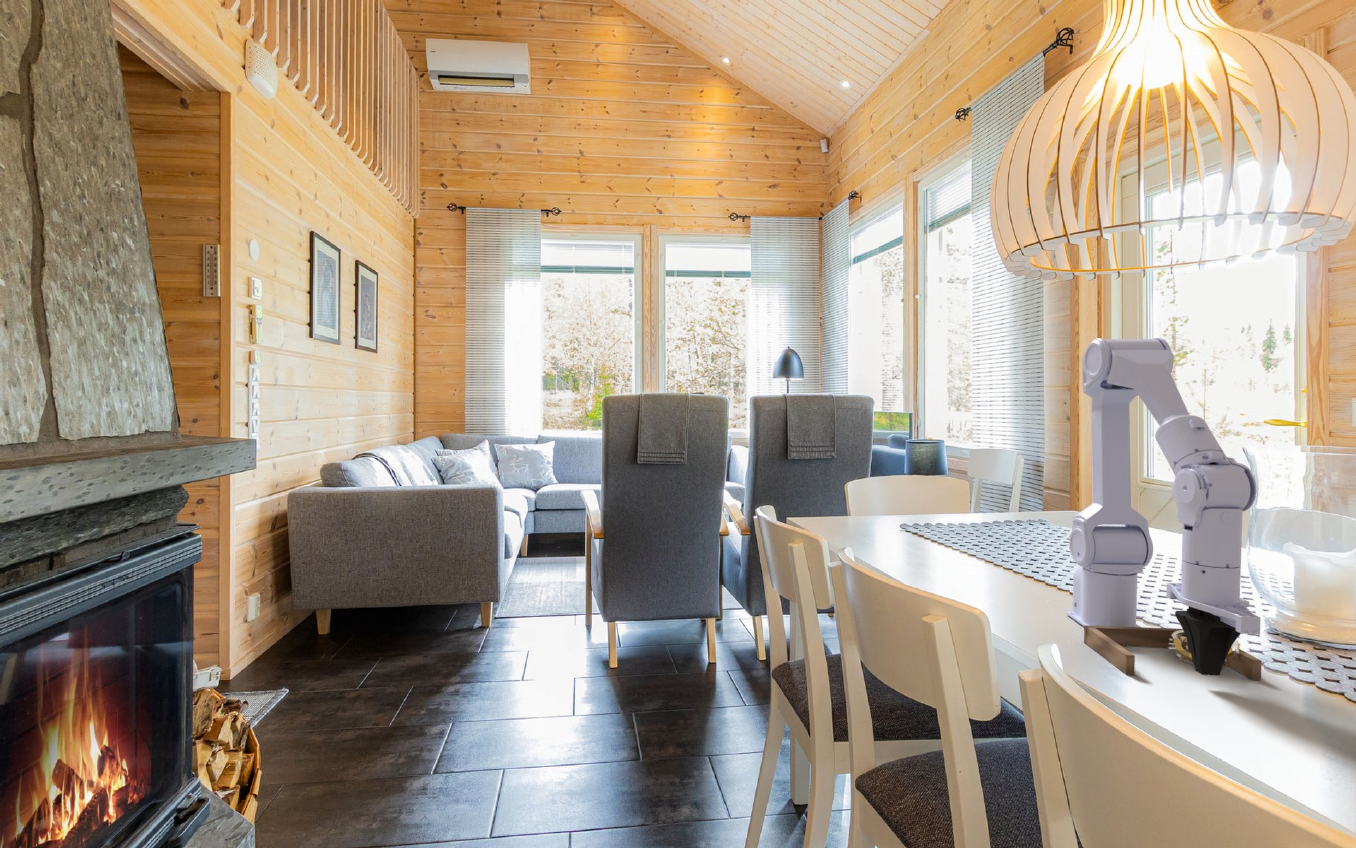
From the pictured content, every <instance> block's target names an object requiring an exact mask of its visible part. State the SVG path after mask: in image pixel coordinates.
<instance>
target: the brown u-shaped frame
mask: <svg viewBox="0 0 1356 848" xmlns="http://www.w3.org/2000/svg"><path fill="white" fill-rule="evenodd" d="M1083 628H1084V630H1083V643H1084V644H1085V645H1087V646H1088V647H1089V648H1090V649H1092V650H1093V651H1095V652H1096V653H1097V654H1099V656H1100V657H1102V658H1104V659H1105V660H1106V661H1107V662H1109V663H1110V664H1111V665H1113V666H1114V667H1115V668H1117V669H1118V670H1119V671H1121V672H1122V673H1123V674H1124V675H1128V676H1135V669H1136V668H1135V665H1136V664H1135V663H1136V655H1135V654H1134V653H1132V652H1130V651H1129V650H1127V649H1126V648H1125V647H1132V648H1134V647H1135V648H1154V649H1155V648H1156V649H1157V648H1158V649H1162V648H1163V649H1169V647H1172V645H1169V643H1174V642H1173V641H1170V640H1169V639H1173V636H1172V634H1173V633H1174V632H1175V631H1179V630H1183V628H1170V627H1142V626H1140V627H1117V626H1088V625H1084V626H1083ZM1182 637H1186V636H1182ZM1187 642H1188V641H1187ZM1188 650H1190V648H1189V649H1188ZM1224 665H1225V666H1227V667H1229V668H1230V669H1233V670H1234V671H1235V672H1238V673H1240V674H1242V675H1243V676H1245V677H1246V678H1248V679H1250V680H1251V681H1262V659H1259V658H1258V657H1256V656H1253V655H1252V654H1250V653H1248V652H1246V651H1244V650H1242V649H1239V655H1238V656H1234V657H1233V658H1231V659H1230V660H1228V661H1226V662H1224Z"/></svg>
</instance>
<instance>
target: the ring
mask: <svg viewBox="0 0 1356 848" xmlns="http://www.w3.org/2000/svg"><path fill="white" fill-rule="evenodd" d="M1172 636H1173V639H1169V640H1170V641H1173V642H1174V643H1169V645H1172V647H1169V648H1168V650H1169V651H1175V656H1176V657H1177V660H1180V661H1181V662H1183V663H1186V664H1190V665H1192V666H1194V664H1193V660H1192V656H1191V652H1189V651H1188V650H1190V649H1189V644H1188V642H1187V638H1186V637H1182V636H1186V635H1185V633H1184V631H1183V630H1179V631H1175V632H1174V633H1173V634H1172ZM1240 648H1241V647H1240V643H1239V641H1238V638H1237V639H1236V640H1235V642H1234V643H1233V645H1232V646H1231V648H1230V650H1229V652H1228V655H1227V657H1226V660H1225V662H1226V661H1228V660H1230V659H1231V658H1233V657H1234V656H1238V655H1239V649H1240Z"/></svg>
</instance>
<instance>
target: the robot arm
mask: <svg viewBox="0 0 1356 848" xmlns="http://www.w3.org/2000/svg"><path fill="white" fill-rule="evenodd" d="M1174 362H1175V355H1174V353H1173V351H1172V349H1171V347H1170V345H1169V343H1168V342H1167V341H1166V340H1165V339H1164V338H1161V337H1155V338H1134V339H1133V338H1128V339H1127V338H1124V339H1122V338H1117V339H1116V338H1114V339H1112V338H1111V339H1110V338H1107V339H1106V338H1105V339H1104V338H1100V337H1099V338H1098V337H1097V338H1094V339H1093V340H1092V341H1090V343H1089V344H1088V345H1087V347H1086V350H1085V351H1084V352H1083V355H1082V359H1081V365H1082V367H1081V369H1082V370H1081V371H1082V372H1081V373H1082V374H1081V375H1082V376H1081V377H1082V378H1081V379H1082V381H1081V382H1082V393H1083V394H1085V395H1087V396H1088V397H1090V437H1091V438H1090V440H1091V441H1090V442H1091V445H1090V446H1091V447H1090V448H1091V450H1090V451H1091V500H1092V501H1091V504H1090V505H1088V506H1087V507H1085V508H1084V509H1083V510H1081V511H1080V512H1078V513H1076V514H1075V515H1074V516H1073V517H1072V528H1071V533H1070V536H1069V541H1068V543H1069V544H1068V545H1069V550H1070V555H1071V557H1072V558H1073V560H1074V562H1075V563H1076V564H1077V565H1078V567H1077V569H1076V570H1075V571H1074V573H1073V577H1072V579H1073V581H1072V608H1071V609H1072V610H1067V611H1065V612H1066V615H1067V616H1068V617H1070V618H1071V619H1073V620H1074V621H1076V622H1077V623H1078V624H1079V625H1081V626H1082V627H1084V625H1088V626H1117V627H1141V625H1138V624H1137V606H1138V605H1137V604H1138V601H1137V599H1138V574H1139V573H1141V574H1142V573H1144V570H1143V569H1144V568H1145V567H1147V566H1148V565H1149V564H1150V562H1151V560H1152V558H1153V554H1154V544H1153V539H1152V537H1151V534H1150V530H1149V520H1148V519H1147V518H1146V517H1144V516H1143V515H1141V514H1140V513H1139V512H1138V511H1137V510H1136V509H1134V508H1133V507H1132V491H1131V489H1132V487H1131V485H1132V482H1131V478H1132V477H1131V476H1132V475H1131V427H1130V424H1131V423H1130V421H1131V420H1130V417H1131V415H1130V405H1131V402H1132V401H1133V400H1135V398H1136V397H1138V396H1139V399H1141V401H1142V402H1143V403H1144V405H1145V407H1146V408H1147V409H1148V411H1149V412H1150V414H1151V416H1152V417H1153V418H1154V420H1155V421H1156V423H1157V424H1158V425H1159V427H1158V428H1157V430H1156V432H1155V436H1154V437H1155V440H1156V442H1157V444H1158V446H1159V448H1160V450H1161V452H1162V453H1163V456H1164V458H1165V459H1166V461H1167V462H1168V465H1169V466H1170V468H1171V470H1172V472H1173V474H1174V480H1173V483H1172V484H1171V491H1172V495H1173V499H1174V502H1175V504H1176V507H1177V518H1178V522H1179V523H1181V524H1182V539H1181V540H1182V542H1181V543H1182V545H1181V546H1182V547H1181V575H1180V577H1181V578H1180V579H1181V581H1180V582H1167V583H1166V598H1168V599H1169V600H1177V601H1178V602H1179V603H1181V604H1182V605H1184V606H1187V607H1188V608H1186V610H1176V611H1175V612H1174V615H1175V618H1176V619H1177V621H1178V623H1179V624H1180V626H1181V629H1183V631H1184V633H1185V635H1186V638H1187V641H1188V644H1189V648H1190V649H1189V650H1190V653H1191V656H1192V660H1193V664H1194V665H1193V664H1192V665H1193V667H1194V669H1195V672H1197V673H1198V674H1200V675H1202V676H1220V675H1221V674H1222V673H1221V672H1222V671H1223V669H1224V665H1225V664H1224V662H1225V660H1226V657H1227V655H1228V652H1229V650H1230V648H1231V646H1232V645H1233V643H1234V642H1235V640H1236V639H1237V640H1238V637H1240V635H1242V634H1243V635H1244V634H1245V635H1246V634H1247V635H1260V634H1261V619H1262V618H1261V617H1260V616H1258V615H1257V614H1254V613H1253V612H1252V611H1251V610H1250V609H1249V607H1250V601H1249V600H1247V599H1244V598H1242V597H1241V576H1242V575H1241V573H1242V571H1241V570H1242V569H1241V568H1242V543H1243V542H1242V540H1243V538H1242V537H1243V512H1246V511H1248V510H1249V509H1250V508H1251V507H1252V506H1253V505H1254V503H1255V501H1256V498H1257V483H1256V479H1255V477H1254V475H1253V473H1252V470H1251V469H1250V468H1249V467H1248V466H1247V465H1245V464H1243V463H1240V462H1237V461H1236V460H1235V458H1233V457H1228V456H1227V455H1226V454H1225V451H1224V450H1223V449H1222V447H1221V446H1220V444H1219V442H1218V440H1217V439H1216V437H1215V435H1214V434H1213V432H1212V431H1211V429H1210V427H1209V426H1208V424H1207V422H1206V421H1205V419H1203V418H1202V417H1200V416H1198V415H1197V416H1196V415H1192V414H1190V413H1189V411H1188V409H1187V406H1186V404H1185V402H1184V400H1183V398H1182V396H1181V393H1180V391H1179V388H1178V387H1177V383H1176V382H1175V381H1174V377H1173V375H1172V372H1173V368H1174V364H1175V363H1174ZM1100 525H1101V526H1100ZM1102 525H1103V526H1102ZM1104 525H1105V526H1104ZM1109 525H1110V526H1109ZM1111 525H1117V526H1111ZM1118 525H1119V526H1118ZM1120 525H1121V526H1120ZM1122 525H1124V526H1122Z"/></svg>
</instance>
